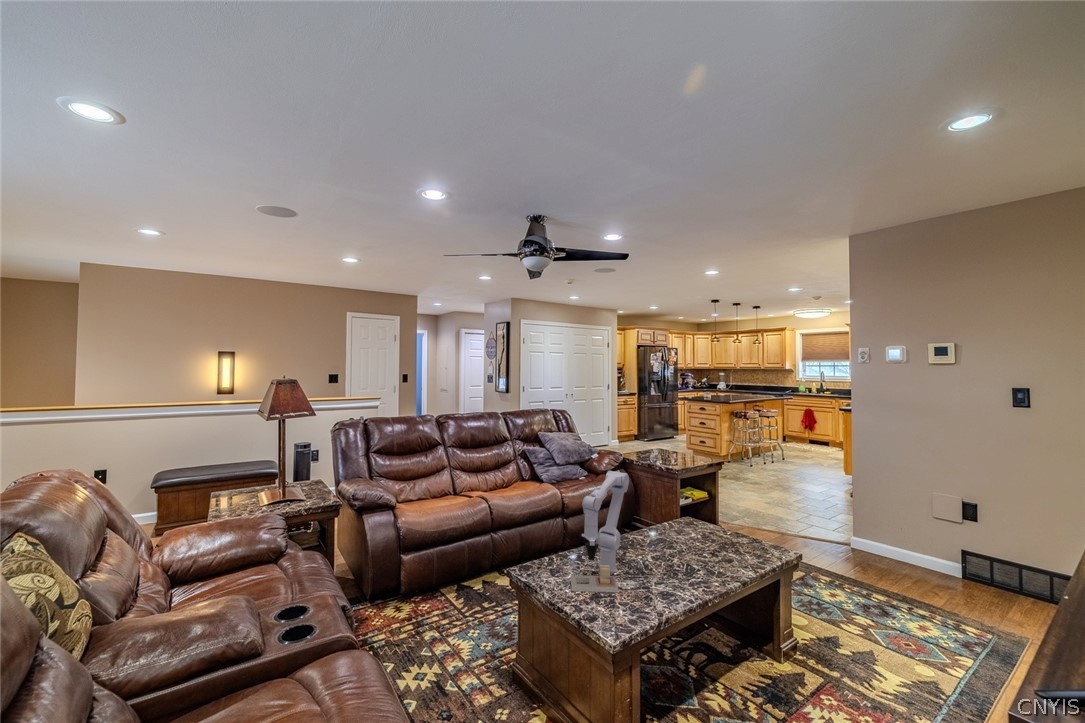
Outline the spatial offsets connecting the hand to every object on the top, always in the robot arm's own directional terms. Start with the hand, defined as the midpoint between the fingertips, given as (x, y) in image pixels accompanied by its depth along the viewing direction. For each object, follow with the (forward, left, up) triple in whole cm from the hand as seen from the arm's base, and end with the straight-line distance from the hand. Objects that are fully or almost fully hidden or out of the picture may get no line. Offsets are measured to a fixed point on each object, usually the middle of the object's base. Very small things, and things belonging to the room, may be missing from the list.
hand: (590, 556), depth 194 cm
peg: (+5, +6, -10) cm, 13 cm away
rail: (+5, +1, -10) cm, 12 cm away
